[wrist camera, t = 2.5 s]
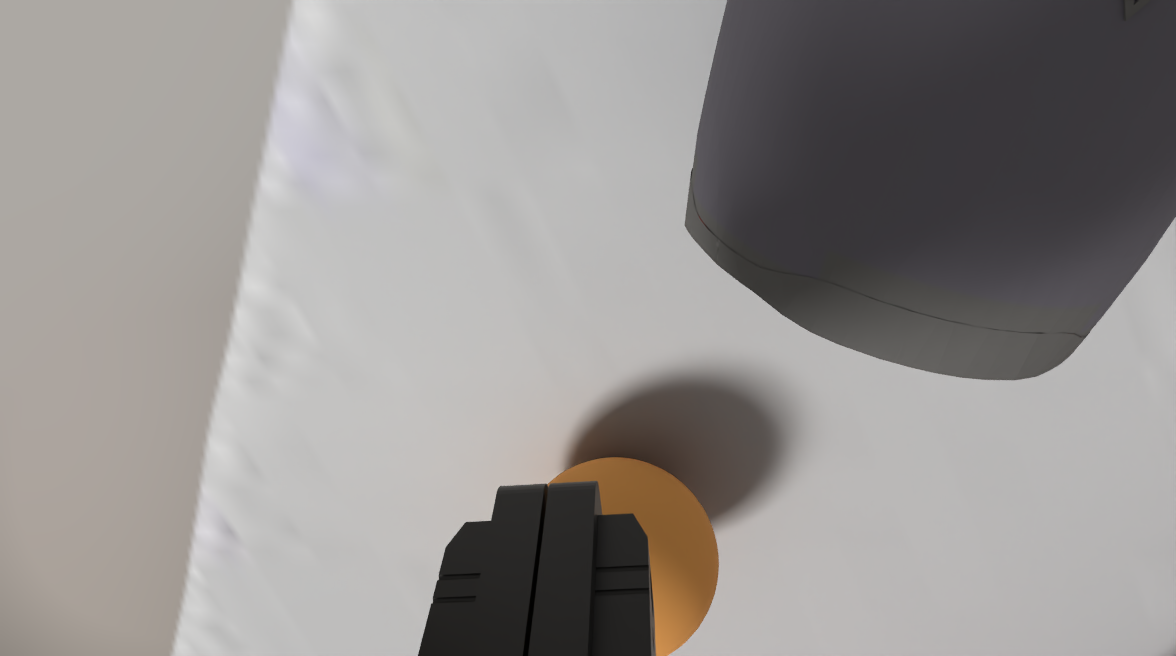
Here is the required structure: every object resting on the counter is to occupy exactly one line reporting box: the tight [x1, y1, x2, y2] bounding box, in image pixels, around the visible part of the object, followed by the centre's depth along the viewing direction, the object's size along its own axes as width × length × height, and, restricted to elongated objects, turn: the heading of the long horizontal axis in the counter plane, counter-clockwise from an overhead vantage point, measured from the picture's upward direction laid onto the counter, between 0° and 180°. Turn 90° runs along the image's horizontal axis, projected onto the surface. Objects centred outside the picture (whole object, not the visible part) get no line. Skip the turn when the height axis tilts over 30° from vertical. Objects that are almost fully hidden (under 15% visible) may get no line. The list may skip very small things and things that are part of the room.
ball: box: [547, 457, 719, 656], centre depth 26 cm, size 6×6×6 cm
